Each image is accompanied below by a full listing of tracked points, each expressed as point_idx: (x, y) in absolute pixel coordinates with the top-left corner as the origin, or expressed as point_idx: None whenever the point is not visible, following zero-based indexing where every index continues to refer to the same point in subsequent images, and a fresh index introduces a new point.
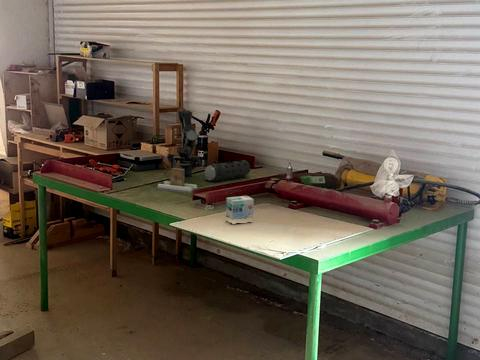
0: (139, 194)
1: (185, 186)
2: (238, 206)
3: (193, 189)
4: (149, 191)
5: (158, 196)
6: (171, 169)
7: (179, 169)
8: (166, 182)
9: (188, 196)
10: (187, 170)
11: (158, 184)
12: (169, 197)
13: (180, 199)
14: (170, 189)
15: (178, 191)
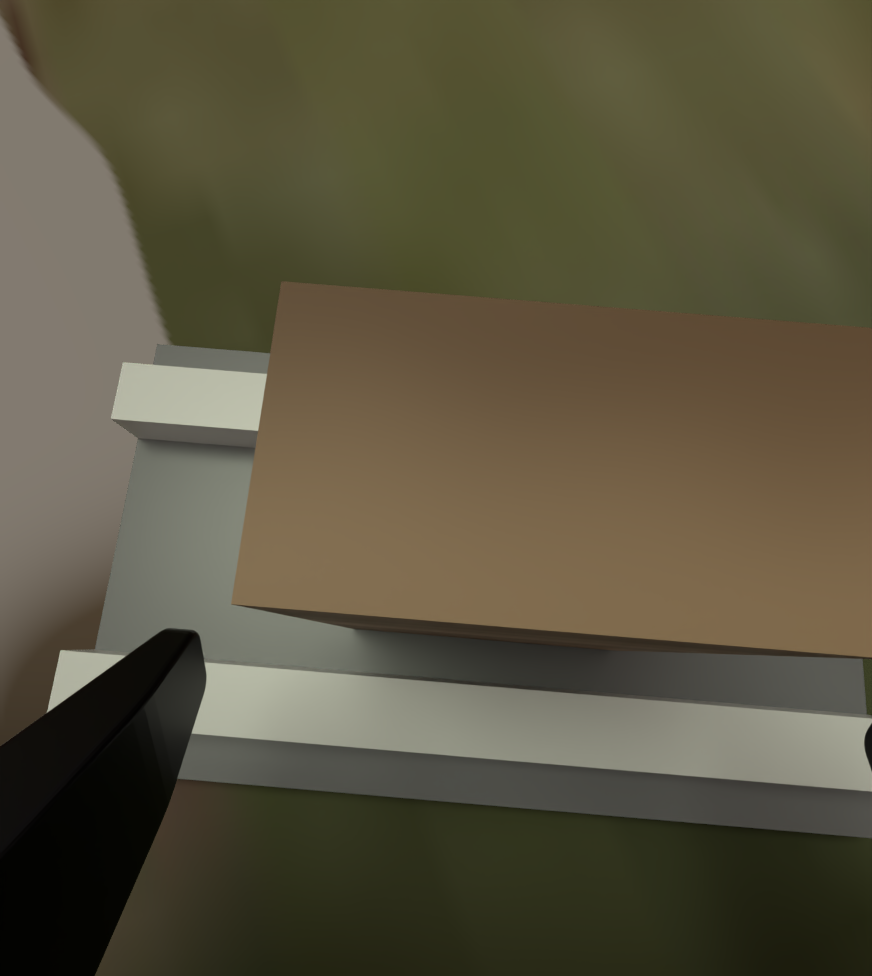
0: (865, 40)
1: (335, 670)
2: None
3: (119, 541)
4: (842, 241)
5: (560, 37)
6: (813, 330)
7: (444, 412)
8: (834, 715)
9: (129, 184)
10: (118, 704)
11: None
12: (388, 42)
13: (198, 4)
14: None
15: None
